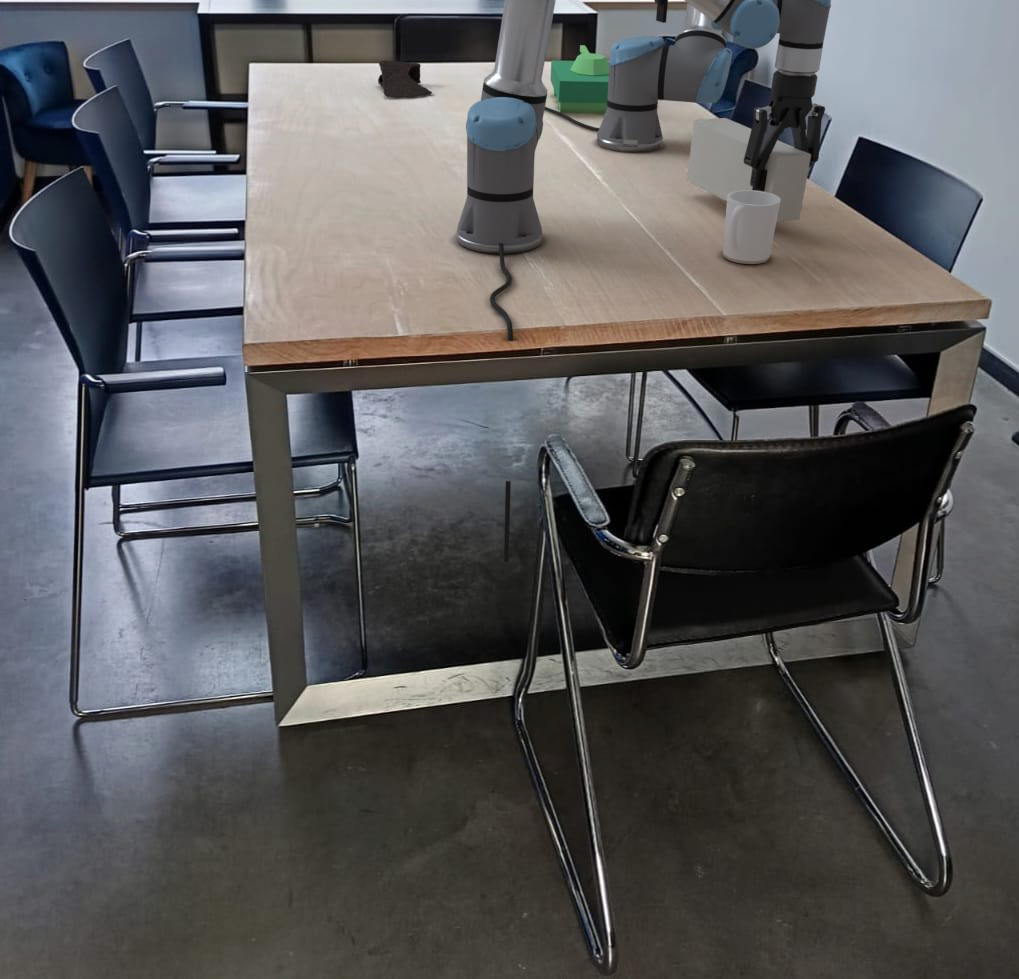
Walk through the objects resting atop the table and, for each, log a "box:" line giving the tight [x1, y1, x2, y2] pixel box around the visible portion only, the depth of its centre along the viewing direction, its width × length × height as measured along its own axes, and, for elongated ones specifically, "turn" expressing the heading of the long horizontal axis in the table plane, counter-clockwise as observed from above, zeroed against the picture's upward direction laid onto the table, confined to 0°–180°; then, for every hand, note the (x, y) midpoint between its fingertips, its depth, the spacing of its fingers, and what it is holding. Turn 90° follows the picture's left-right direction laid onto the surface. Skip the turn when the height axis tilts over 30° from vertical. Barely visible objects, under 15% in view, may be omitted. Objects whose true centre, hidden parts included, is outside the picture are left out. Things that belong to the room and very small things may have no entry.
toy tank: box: [550, 44, 610, 115], centre depth 290 cm, size 18×12×35 cm
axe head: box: [377, 59, 433, 99], centre depth 299 cm, size 18×8×15 cm
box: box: [686, 117, 811, 223], centre depth 207 cm, size 28×7×12 cm, turn 23°
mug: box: [722, 190, 781, 265], centre depth 187 cm, size 11×9×10 cm
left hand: (774, 202), depth 201 cm, fingers closed on box, 7 cm apart
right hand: (690, 20), depth 219 cm, fingers open, 13 cm apart
